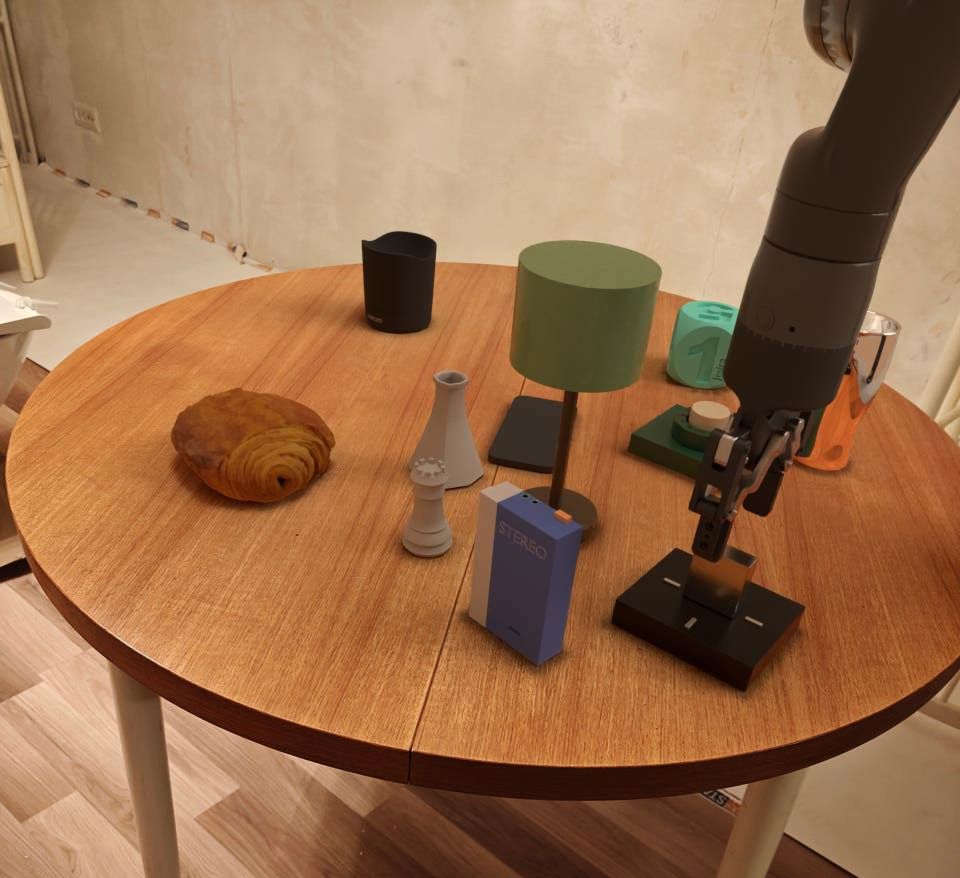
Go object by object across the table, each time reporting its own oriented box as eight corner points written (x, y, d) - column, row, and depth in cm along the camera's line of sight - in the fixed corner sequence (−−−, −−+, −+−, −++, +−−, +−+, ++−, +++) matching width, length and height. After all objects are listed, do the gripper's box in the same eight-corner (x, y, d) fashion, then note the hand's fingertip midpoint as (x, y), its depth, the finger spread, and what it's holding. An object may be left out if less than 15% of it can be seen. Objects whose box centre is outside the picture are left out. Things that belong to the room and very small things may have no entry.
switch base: (770, 459, 95) (781, 425, 93) (729, 493, 89) (739, 458, 86) (672, 421, 100) (680, 388, 98) (627, 451, 94) (634, 417, 92)
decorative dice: (665, 384, 108) (680, 319, 103) (666, 359, 114) (680, 296, 109) (731, 394, 107) (749, 329, 102) (729, 367, 113) (745, 305, 108)
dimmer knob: (742, 609, 70) (760, 555, 67) (732, 619, 69) (750, 565, 66) (692, 585, 72) (707, 531, 69) (681, 595, 71) (696, 541, 68)
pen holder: (359, 308, 120) (358, 230, 113) (428, 308, 121) (431, 231, 115) (365, 335, 113) (364, 254, 106) (438, 335, 115) (441, 255, 108)
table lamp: (632, 521, 84) (688, 266, 68) (568, 571, 77) (613, 300, 62) (538, 479, 89) (570, 231, 73) (470, 522, 82) (489, 259, 66)
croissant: (217, 541, 80) (208, 470, 74) (157, 444, 88) (144, 374, 82) (359, 499, 87) (361, 430, 81) (291, 412, 94) (289, 344, 89)
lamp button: (732, 425, 93) (737, 409, 92) (715, 437, 90) (719, 422, 89) (699, 412, 94) (702, 397, 93) (681, 424, 92) (684, 408, 91)
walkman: (561, 651, 69) (584, 521, 61) (537, 666, 67) (557, 535, 59) (492, 602, 73) (505, 474, 65) (467, 615, 71) (478, 486, 64)
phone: (485, 455, 90) (515, 393, 101) (484, 463, 90) (515, 400, 101) (557, 468, 89) (579, 404, 100) (556, 476, 89) (578, 411, 100)
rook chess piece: (394, 552, 77) (394, 472, 72) (412, 526, 81) (414, 447, 75) (442, 564, 76) (446, 483, 71) (458, 537, 80) (463, 458, 75)
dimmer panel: (796, 630, 73) (807, 604, 71) (744, 692, 67) (754, 666, 65) (669, 570, 78) (676, 545, 76) (610, 623, 72) (615, 597, 70)
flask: (395, 466, 88) (396, 371, 82) (451, 447, 92) (456, 354, 86) (439, 498, 84) (444, 401, 78) (497, 477, 88) (505, 382, 82)
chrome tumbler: (773, 452, 96) (817, 316, 87) (808, 435, 100) (853, 302, 90) (829, 480, 93) (881, 340, 83) (863, 461, 96) (917, 325, 87)
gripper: (811, 369, 50) (735, 596, 60) (893, 309, 59) (814, 516, 69) (693, 330, 53) (641, 552, 64) (788, 278, 62) (728, 480, 72)
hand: (731, 533), depth 66 cm, fingers open, 8 cm apart
